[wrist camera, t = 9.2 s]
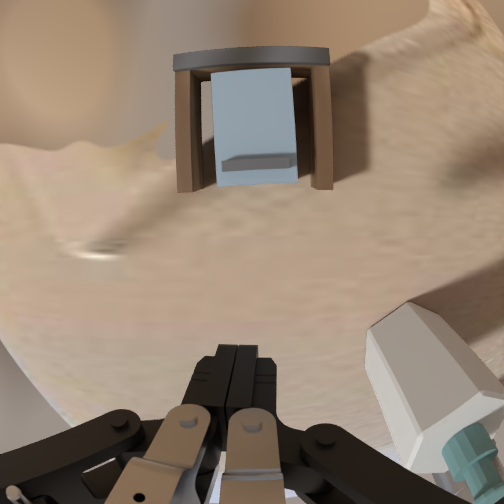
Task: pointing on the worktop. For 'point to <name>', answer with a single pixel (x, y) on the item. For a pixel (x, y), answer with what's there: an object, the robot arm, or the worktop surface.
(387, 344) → the soap bottle
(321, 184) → the bay
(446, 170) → the worktop surface
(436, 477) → the robot arm
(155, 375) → the worktop surface
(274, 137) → the blue slab with ledge
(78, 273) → the worktop surface
